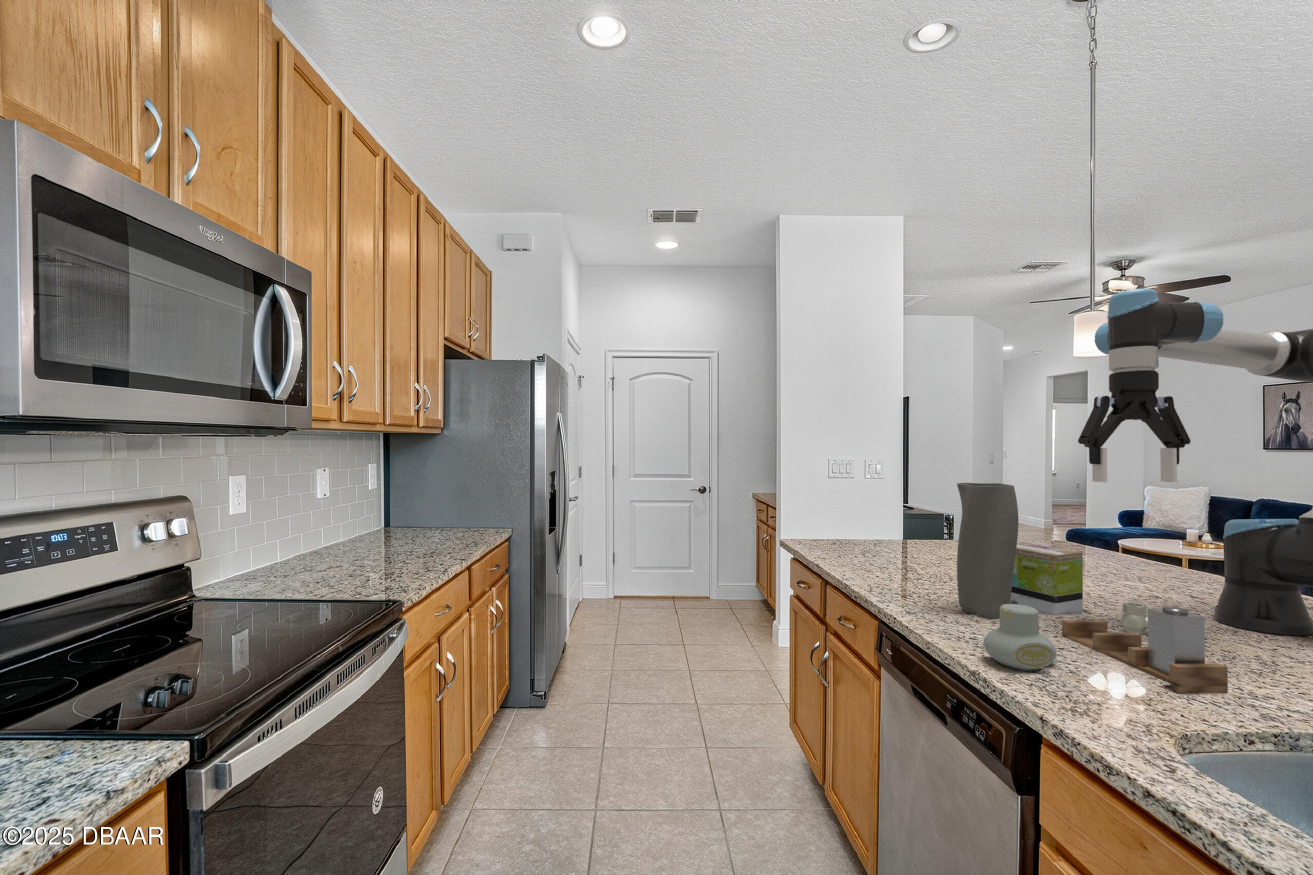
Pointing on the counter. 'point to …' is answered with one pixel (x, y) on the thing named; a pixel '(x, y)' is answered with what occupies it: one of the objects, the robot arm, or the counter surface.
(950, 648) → the counter surface
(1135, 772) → the counter surface
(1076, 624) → the wooden compartment tray
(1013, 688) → the counter surface
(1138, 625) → the valve
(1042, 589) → the tea box
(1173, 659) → the block
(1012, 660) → the air freshener
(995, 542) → the vase
